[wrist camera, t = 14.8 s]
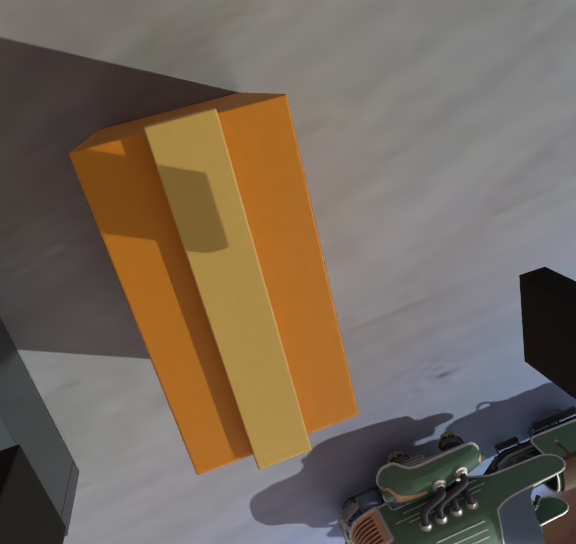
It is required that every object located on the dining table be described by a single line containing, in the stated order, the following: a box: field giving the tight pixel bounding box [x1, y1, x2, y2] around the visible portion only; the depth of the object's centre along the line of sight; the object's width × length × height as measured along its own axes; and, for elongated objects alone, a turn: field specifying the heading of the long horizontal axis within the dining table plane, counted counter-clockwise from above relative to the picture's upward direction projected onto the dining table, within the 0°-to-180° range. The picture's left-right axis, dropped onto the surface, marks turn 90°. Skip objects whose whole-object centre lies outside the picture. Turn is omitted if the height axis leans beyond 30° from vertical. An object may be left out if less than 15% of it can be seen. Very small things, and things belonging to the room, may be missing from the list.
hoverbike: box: [338, 406, 576, 544], centre depth 36 cm, size 10×25×8 cm, turn 106°
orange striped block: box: [69, 93, 359, 475], centre depth 24 cm, size 14×8×11 cm, turn 14°
